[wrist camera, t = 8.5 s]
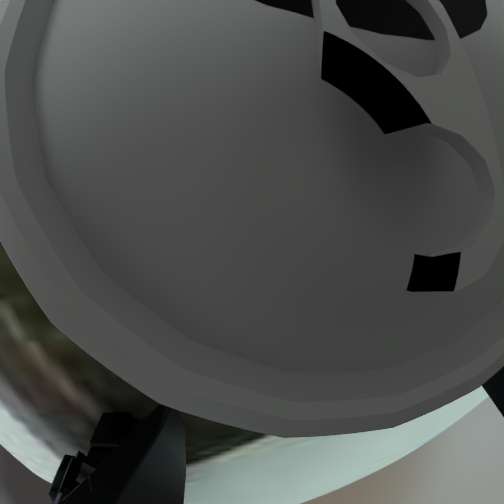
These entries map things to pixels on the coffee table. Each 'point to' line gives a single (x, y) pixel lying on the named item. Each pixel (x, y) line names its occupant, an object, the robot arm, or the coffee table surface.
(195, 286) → the can
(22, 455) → the coffee table surface
